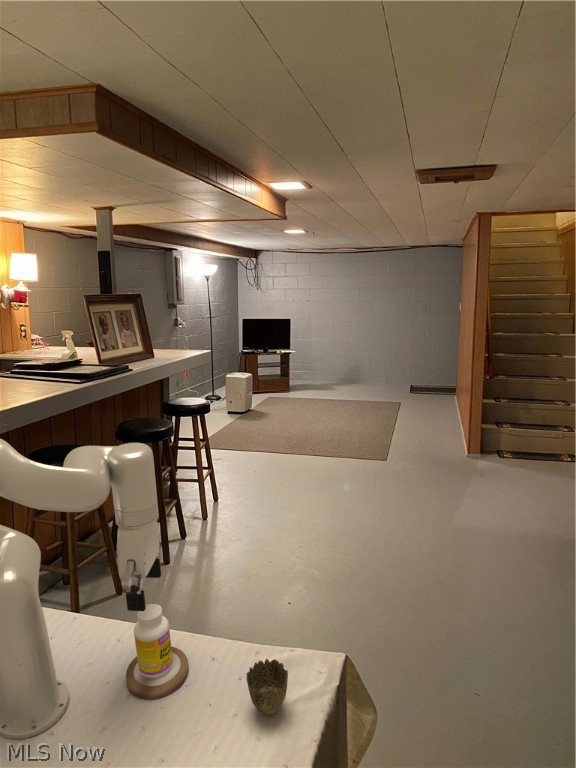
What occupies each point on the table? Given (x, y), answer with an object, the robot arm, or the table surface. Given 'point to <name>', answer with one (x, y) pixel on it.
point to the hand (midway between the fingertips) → (145, 592)
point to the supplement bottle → (153, 642)
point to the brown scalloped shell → (267, 686)
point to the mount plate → (158, 678)
